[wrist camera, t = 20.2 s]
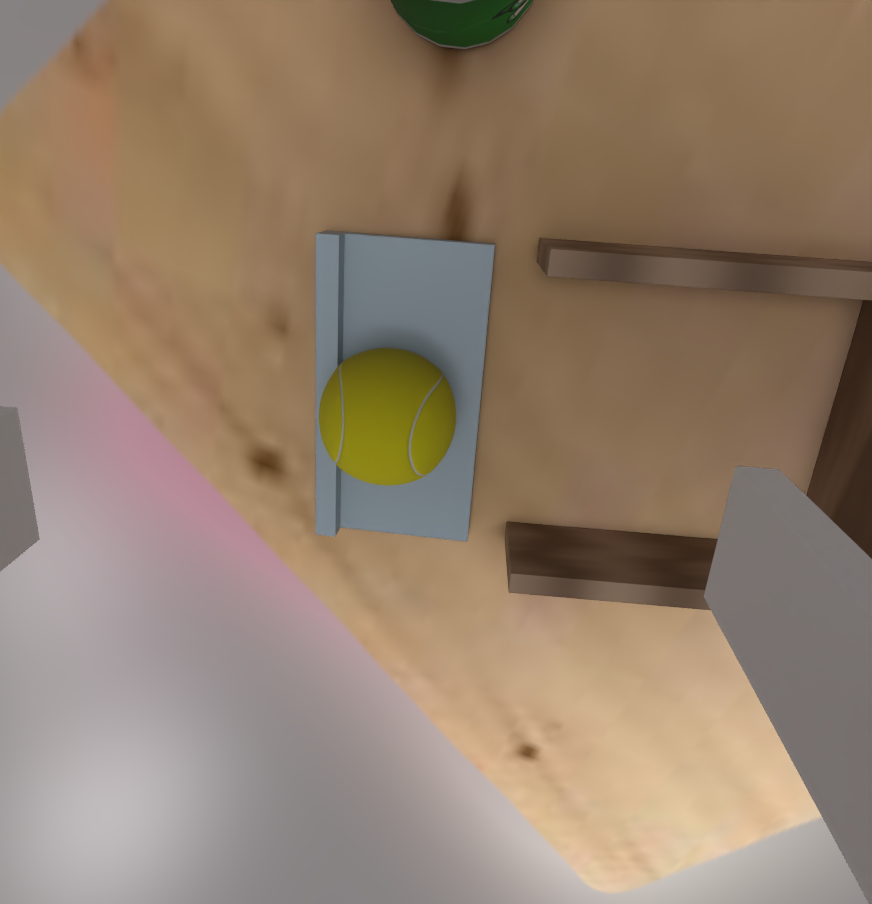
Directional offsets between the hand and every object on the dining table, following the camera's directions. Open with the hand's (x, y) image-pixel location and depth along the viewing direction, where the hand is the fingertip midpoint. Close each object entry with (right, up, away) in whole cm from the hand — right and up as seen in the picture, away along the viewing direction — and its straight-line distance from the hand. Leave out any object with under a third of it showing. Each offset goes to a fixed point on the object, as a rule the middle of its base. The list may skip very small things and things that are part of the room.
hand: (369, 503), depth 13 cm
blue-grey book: (+4, +4, +25) cm, 26 cm away
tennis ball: (-1, +4, +26) cm, 26 cm away
